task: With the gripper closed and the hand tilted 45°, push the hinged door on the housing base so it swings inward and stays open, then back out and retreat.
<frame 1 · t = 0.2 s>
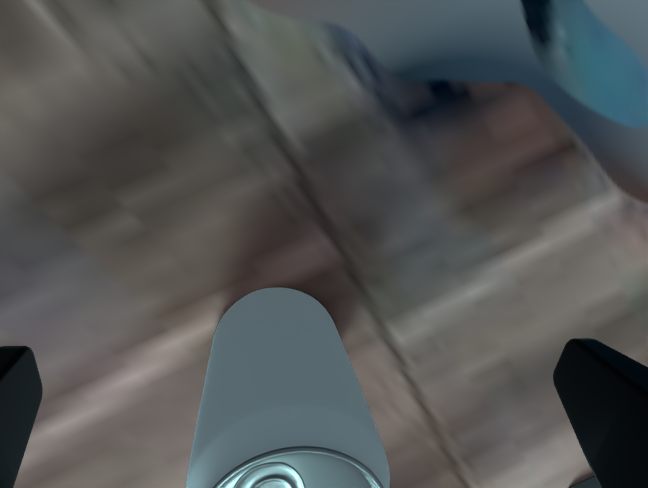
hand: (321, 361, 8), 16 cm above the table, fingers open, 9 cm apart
can: (275, 340, 25), on the table
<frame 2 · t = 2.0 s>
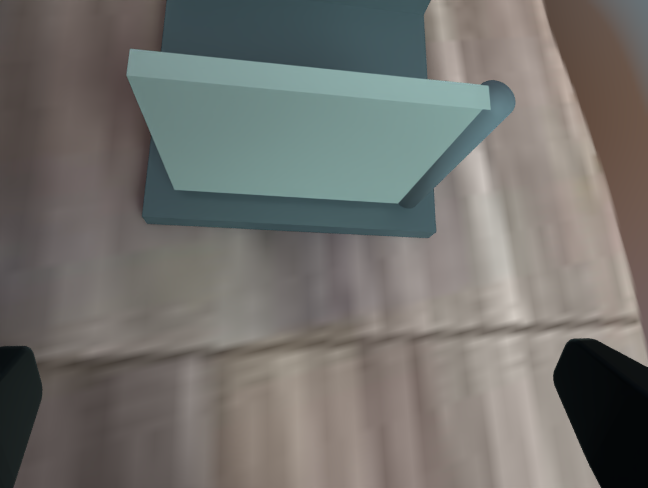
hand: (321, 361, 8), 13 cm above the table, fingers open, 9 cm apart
door: (314, 147, 17), point 5 cm above the table, hinge at 0.0°
housing: (294, 200, 22), on the table
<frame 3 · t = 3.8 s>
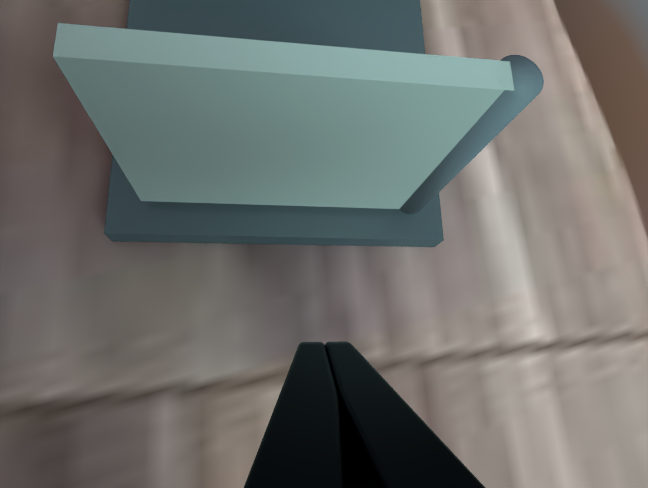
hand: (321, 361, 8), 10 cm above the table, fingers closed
door: (300, 146, 14), point 5 cm above the table, hinge at 0.0°
housing: (281, 209, 19), on the table
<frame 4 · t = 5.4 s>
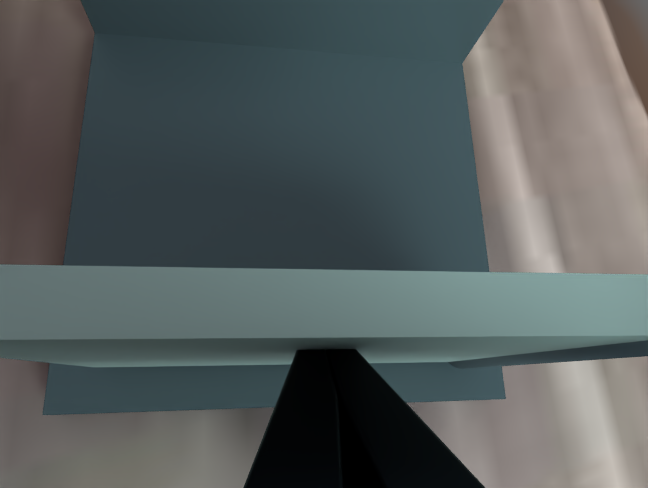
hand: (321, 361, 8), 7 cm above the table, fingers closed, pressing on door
door: (320, 335, 9), point 6 cm above the table, hinge at 0.4°, touching gripper
housing: (288, 353, 14), on the table
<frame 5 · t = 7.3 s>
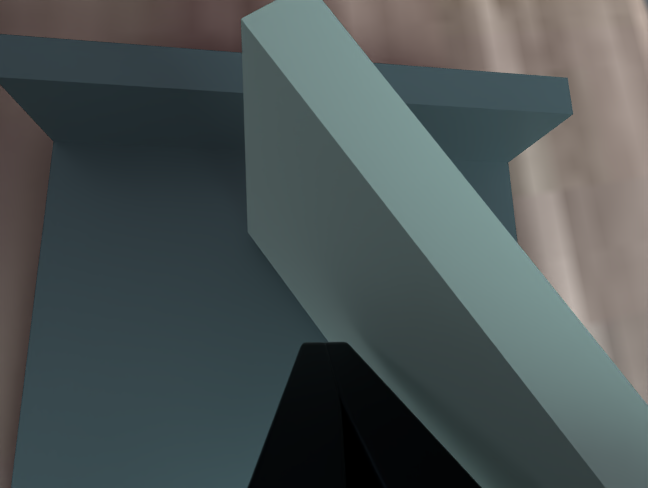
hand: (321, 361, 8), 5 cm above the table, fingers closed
door: (452, 413, 8), point 5 cm above the table, hinge at 53.7°, touching gripper
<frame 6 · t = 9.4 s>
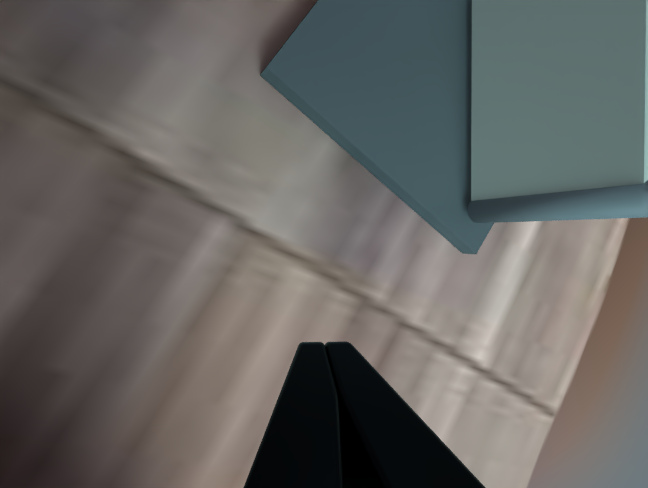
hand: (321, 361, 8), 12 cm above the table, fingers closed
door: (548, 83, 18), point 5 cm above the table, hinge at 54.0°
housing: (387, 148, 22), on the table
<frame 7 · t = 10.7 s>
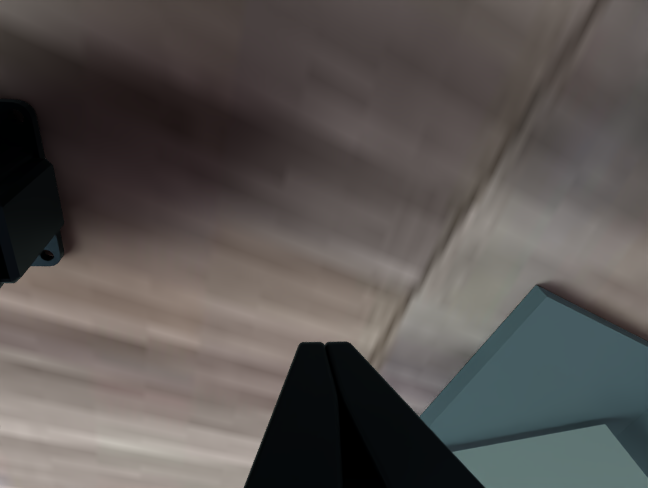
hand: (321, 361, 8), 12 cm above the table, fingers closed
housing: (478, 381, 26), on the table
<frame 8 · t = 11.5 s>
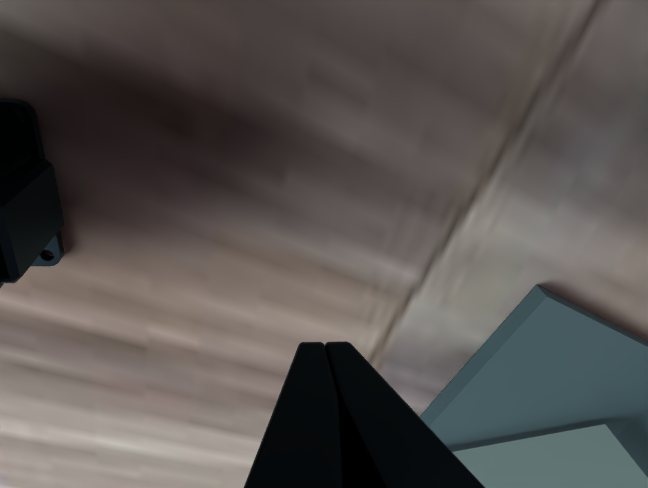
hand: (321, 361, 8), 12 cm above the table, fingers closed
housing: (478, 381, 26), on the table
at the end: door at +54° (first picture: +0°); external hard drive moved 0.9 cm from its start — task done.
